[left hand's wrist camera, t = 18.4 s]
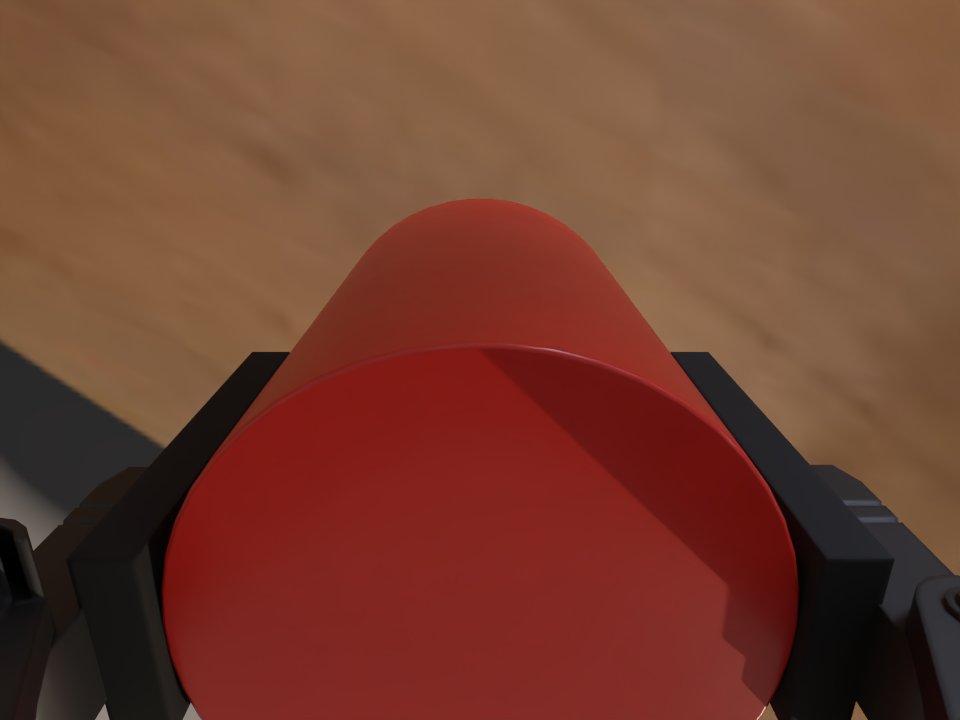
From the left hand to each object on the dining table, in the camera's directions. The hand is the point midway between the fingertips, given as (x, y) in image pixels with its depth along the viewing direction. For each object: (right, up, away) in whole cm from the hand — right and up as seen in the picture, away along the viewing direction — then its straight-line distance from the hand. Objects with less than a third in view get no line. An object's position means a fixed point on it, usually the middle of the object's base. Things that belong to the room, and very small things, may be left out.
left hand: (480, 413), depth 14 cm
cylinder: (0, +2, +4) cm, 4 cm away
